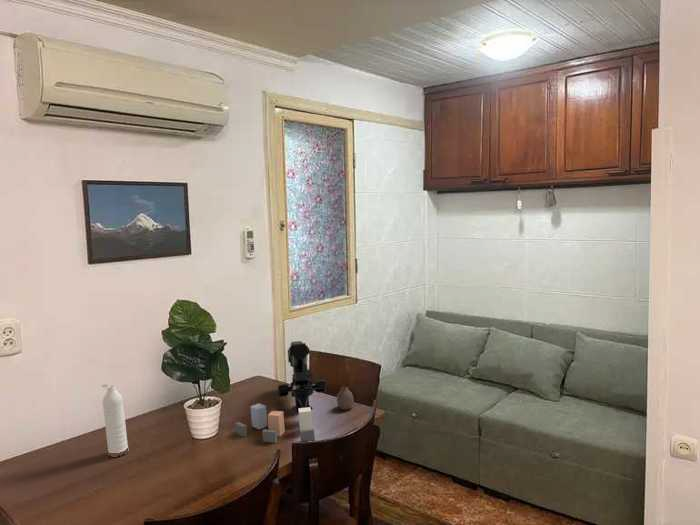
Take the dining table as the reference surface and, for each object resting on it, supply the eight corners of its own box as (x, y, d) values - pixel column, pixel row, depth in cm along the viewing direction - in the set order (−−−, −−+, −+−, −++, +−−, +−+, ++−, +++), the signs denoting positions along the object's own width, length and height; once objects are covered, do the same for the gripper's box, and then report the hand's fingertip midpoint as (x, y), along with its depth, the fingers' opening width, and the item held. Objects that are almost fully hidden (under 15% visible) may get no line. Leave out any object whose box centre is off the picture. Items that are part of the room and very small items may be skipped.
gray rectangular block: (260, 422, 208) (258, 403, 207) (267, 425, 205) (265, 406, 204) (252, 426, 205) (250, 406, 204) (259, 429, 202) (257, 409, 201)
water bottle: (131, 452, 189) (124, 385, 186) (113, 460, 184) (105, 390, 181) (120, 446, 195) (113, 380, 192) (102, 452, 190) (95, 385, 187)
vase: (354, 404, 222) (353, 384, 221) (353, 411, 215) (351, 390, 214) (338, 404, 222) (337, 384, 221) (336, 411, 216) (334, 390, 215)
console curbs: (230, 438, 196) (229, 428, 196) (237, 431, 201) (236, 421, 201) (310, 446, 186) (309, 435, 186) (316, 439, 192) (315, 428, 191)
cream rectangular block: (299, 428, 201) (298, 408, 200) (311, 427, 201) (310, 407, 200) (300, 433, 197) (298, 412, 196) (312, 431, 197) (311, 411, 196)
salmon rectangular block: (273, 430, 200) (272, 410, 199) (284, 431, 199) (283, 411, 198) (269, 435, 196) (267, 414, 195) (280, 436, 195) (278, 415, 194)
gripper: (276, 364, 205) (278, 402, 196) (324, 360, 208) (329, 397, 198) (277, 377, 214) (279, 414, 204) (323, 373, 216) (328, 409, 207)
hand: (304, 408), depth 203 cm, fingers closed
